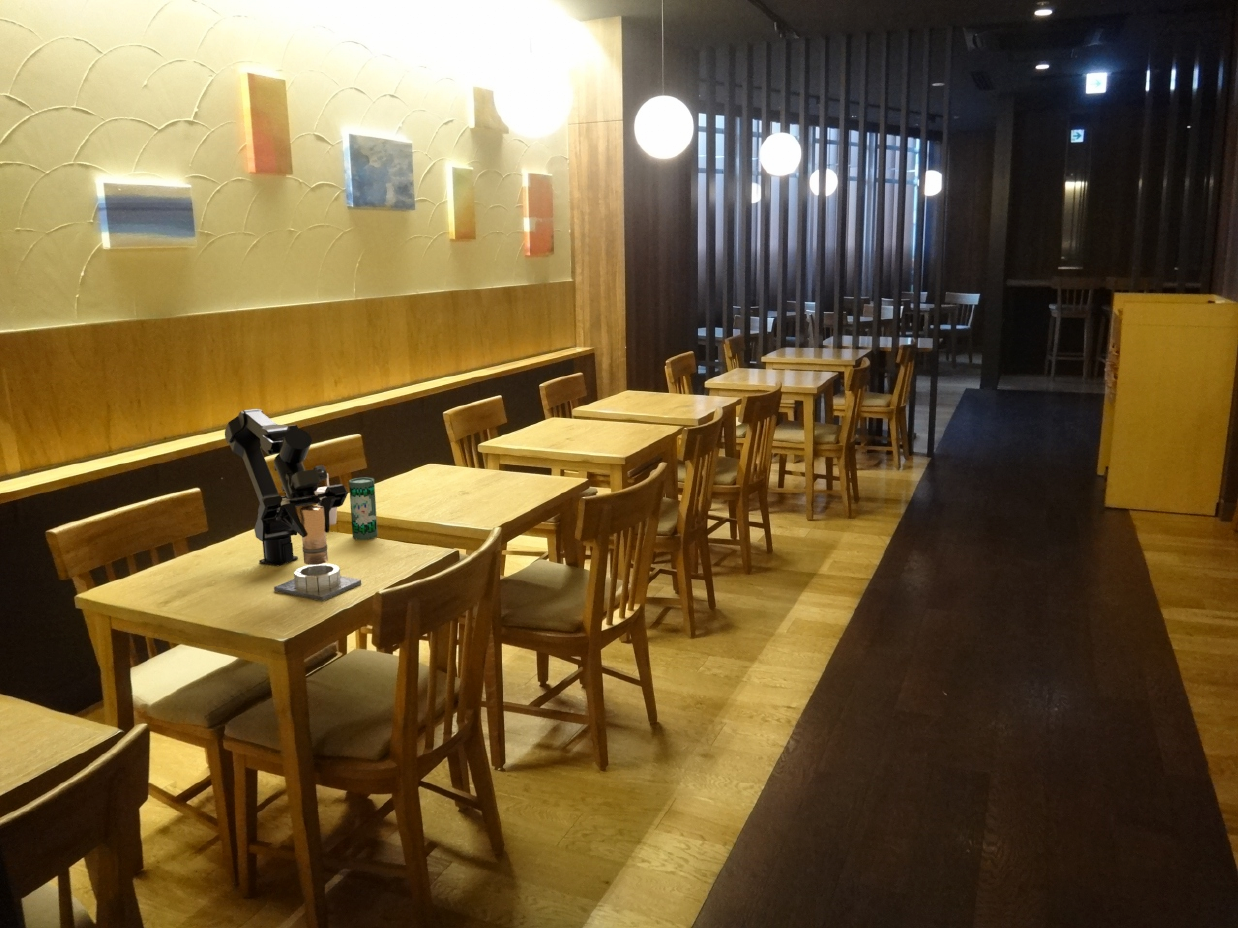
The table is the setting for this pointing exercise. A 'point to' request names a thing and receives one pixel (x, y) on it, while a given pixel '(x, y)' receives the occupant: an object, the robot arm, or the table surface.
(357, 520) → the can
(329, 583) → the plate
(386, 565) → the table surface
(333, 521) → the smoothie
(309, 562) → the tan cylinder
